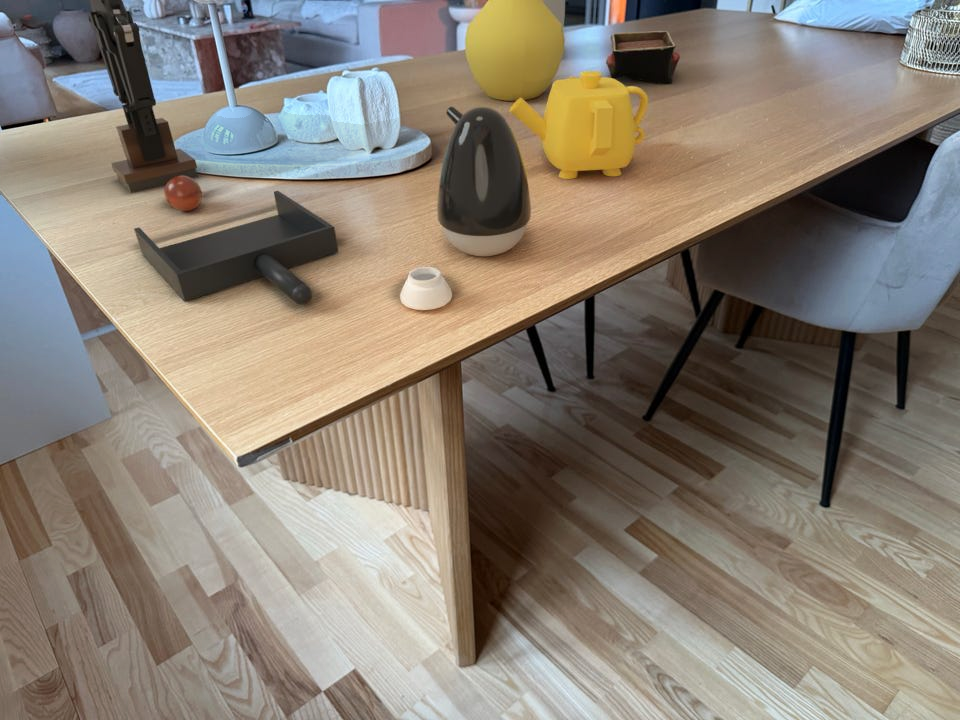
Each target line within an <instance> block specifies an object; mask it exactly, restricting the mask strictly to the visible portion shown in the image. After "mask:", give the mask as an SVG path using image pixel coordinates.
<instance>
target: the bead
mask: <svg viewBox="0 0 960 720" xmlns="http://www.w3.org/2000/svg"><path fill="white" fill-rule="evenodd" d="M163 192H164V197H165V200H166V201H167V203H168V204H169V205H170V206H171V207H172V208H174V209H176V210H178V211H180V212H188V211H192V210H194V209H196V208H197V207H198V206H199V205H200V204H201V201H202V198H203V192H202V188H201V186H200V184H199V183H198V182H197V181H196V180H195V178H190V177H188V176H183V175H181V176H175V177H173V178H171V179H170V180H169V181H168V182H167V184H166V185H164V191H163Z"/></svg>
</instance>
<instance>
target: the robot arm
mask: <svg viewBox="0 0 960 720" xmlns="http://www.w3.org/2000/svg"><path fill="white" fill-rule="evenodd" d="M89 2H90V8H91V10H92V11H89V12H88V15H87V16H88V18H87V19H88V22H89V23H90V26H91V28H92V30H93V33H94V36H95V38H96V41H97V45H98V48H99V51H100V53H101V56H102V60H103V62H104V65H105V69H106V71H107V75H108V78H109V80H110V81H109V82H110V84H111V86H112V91H113V94H114V95H115V96H116V97H118V101H119V102H120V103H121V104H122V105H121V106H122V109H123V113H124V116H125V120H126V123H127V124H132V123H133V125H134V128H135V132H136V135H137V138H138V142H139V145H140V148H141V152H142V155H143V158H144V160H145V161H150V160H154V159H159V158H163V157H166V154H165V151H164V147H163V144H162V140H161V137H160V133H159V130H158V126H157V123H156V119H157V118H156V116H155V112H154V107H155V106H157V103H156V102H157V101H156V98H155V95H154V90H153V86H152V83H151V80H150V74H149V71H148V67H147V63H146V59H145V55H144V50H143V46H142V41H141V35H140V27H139V26H138V24H137V23H136V22H134V20H133V16H132V14H131V12H130V10H127V9H126V6H125V4H124V1H123V0H89Z"/></svg>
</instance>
